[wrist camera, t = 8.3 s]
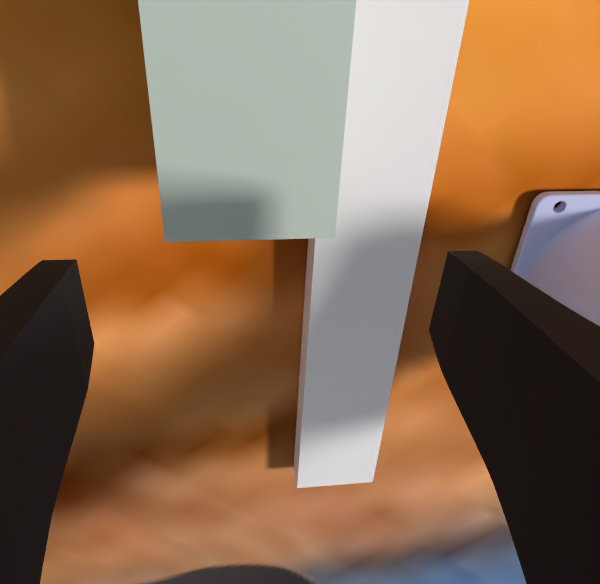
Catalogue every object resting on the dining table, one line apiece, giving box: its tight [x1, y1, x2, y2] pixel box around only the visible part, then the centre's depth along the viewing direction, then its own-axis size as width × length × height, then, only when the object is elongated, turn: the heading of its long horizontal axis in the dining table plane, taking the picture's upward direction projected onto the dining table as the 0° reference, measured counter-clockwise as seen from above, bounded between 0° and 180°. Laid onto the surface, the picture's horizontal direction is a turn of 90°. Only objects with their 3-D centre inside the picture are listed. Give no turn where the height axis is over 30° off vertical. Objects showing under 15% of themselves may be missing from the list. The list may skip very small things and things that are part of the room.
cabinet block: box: [138, 0, 356, 242], centre depth 15 cm, size 4×7×6 cm, turn 178°
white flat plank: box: [294, 0, 469, 488], centre depth 22 cm, size 4×28×2 cm, turn 178°
